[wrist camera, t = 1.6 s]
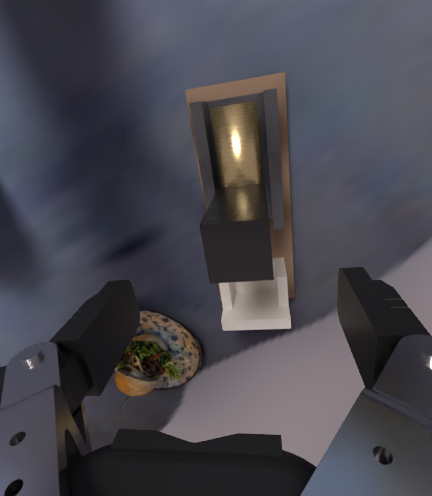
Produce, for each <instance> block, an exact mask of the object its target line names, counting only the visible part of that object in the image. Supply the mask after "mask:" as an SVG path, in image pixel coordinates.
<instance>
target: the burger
mask: <svg viewBox="0 0 432 496" xmlns="http://www.w3.org/2000/svg"><path fill="white" fill-rule="evenodd" d="M139 311H140V310H139ZM202 355H204V351H203V352H202V351H201V347H200V344H199V341H198V340H197V339H195V338H194V337H193V336H192V335H191V333H190V332H189V331H188V329H187V328H185V327H184V326H183V325H181V324H180V323H178V322H177V321H175V320H173V319H170V318H168V317H166V316H164V315H162V314H160V313H158V312H155V311H148V310H147V311H140V324H139V327H138V329H137V331H136V332H135V334H134V336H133V338H132V340H131V341H130V343H129V345H128V347H127V349H126V350H125V352H124V354H123V356H122V358H121V359H120V361H119V363H118V365H117V367H116V368H115V370H114V372H115V373H116V374H115V382H116V385H117V387H118V389H119V390H120V391H122V392H123V393H125V394H127V395H128V397H129V396H140V395H144V394H147V393H148V392H150V391H151V390H167V389H173V388H177V387H180V386H182V385H184V384H185V383H187V382H189V381H190V380H191V379H192V378H193V377H194V376H195V375H196V373H197V371H198V369H199V367H200V365H201V361H202V358H203V356H202ZM127 399H128V398H127ZM127 399H126V402H127ZM126 402H125V404H126ZM125 404H124V406H125ZM124 406H123V408H124ZM123 408H122V410H123ZM122 410H121V412H122ZM121 412H120V414H121Z"/></svg>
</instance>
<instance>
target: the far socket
mask: <svg viewBox="0 0 432 496" xmlns="http://www.w3.org/2000/svg"><path fill="white" fill-rule="evenodd" d="M272 261H273V274H274V280H263V281H246V282H229V283H219V287H220V293H221V299H222V305H223V313H222V319H221V323H222V328H223V331H229V330H262V329H291V318H290V312H289V303H288V285H287V274H286V268H285V262H284V257H282V258H272Z"/></svg>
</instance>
